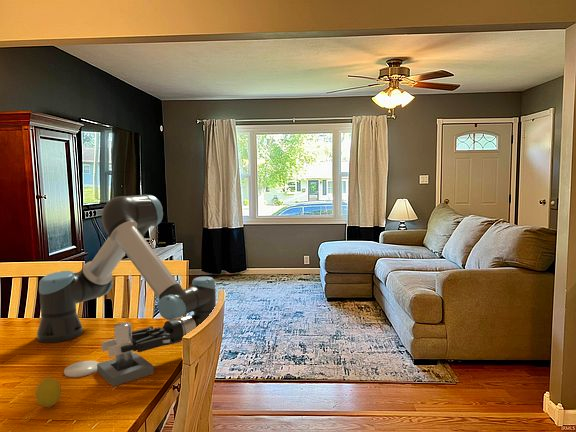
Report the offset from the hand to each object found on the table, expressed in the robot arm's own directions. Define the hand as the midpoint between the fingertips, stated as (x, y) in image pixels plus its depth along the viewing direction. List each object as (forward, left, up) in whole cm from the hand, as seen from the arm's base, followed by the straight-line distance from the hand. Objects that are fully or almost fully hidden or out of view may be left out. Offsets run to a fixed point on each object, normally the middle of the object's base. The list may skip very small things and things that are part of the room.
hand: (105, 349), depth 127 cm
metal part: (0, +5, -8) cm, 10 cm away
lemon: (+7, -17, -9) cm, 20 cm away
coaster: (-11, -4, -9) cm, 15 cm away
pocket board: (0, +5, -9) cm, 10 cm away
